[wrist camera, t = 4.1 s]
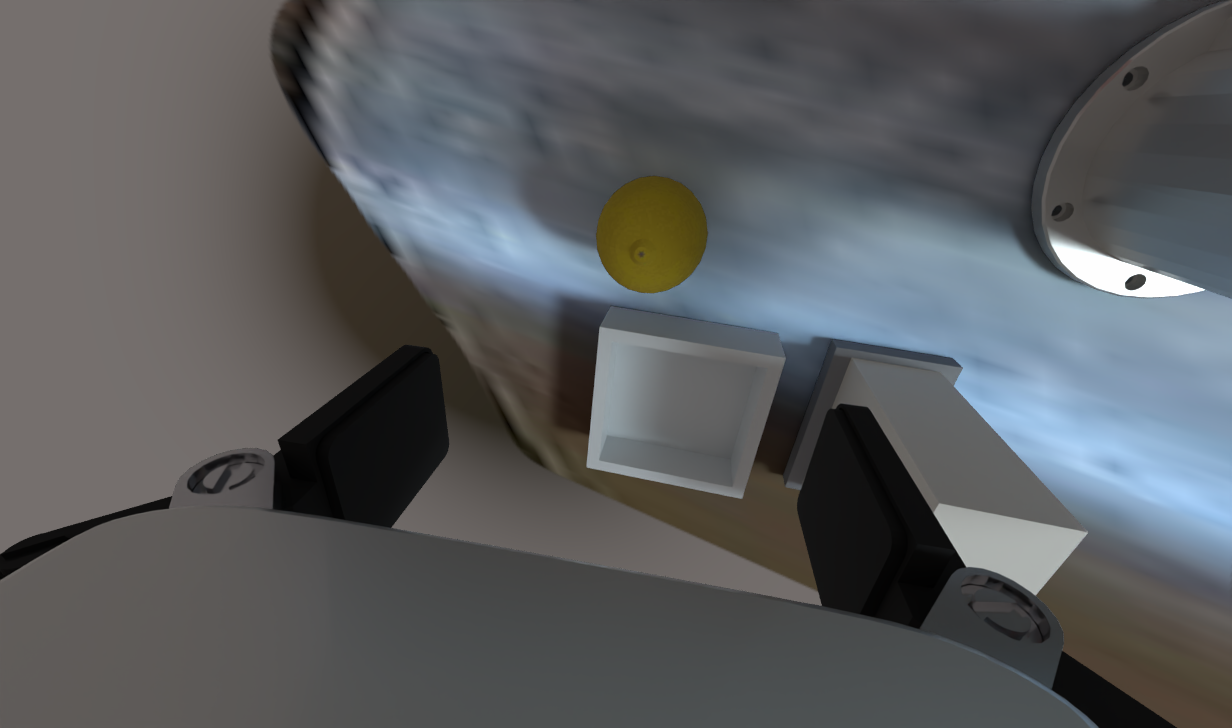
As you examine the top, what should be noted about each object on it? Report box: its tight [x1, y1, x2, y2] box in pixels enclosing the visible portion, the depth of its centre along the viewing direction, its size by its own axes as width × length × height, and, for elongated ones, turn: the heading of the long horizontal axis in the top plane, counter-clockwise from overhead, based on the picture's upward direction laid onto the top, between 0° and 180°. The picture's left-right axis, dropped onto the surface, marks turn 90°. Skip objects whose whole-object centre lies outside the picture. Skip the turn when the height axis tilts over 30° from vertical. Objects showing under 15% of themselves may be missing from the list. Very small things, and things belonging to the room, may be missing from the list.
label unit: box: [783, 339, 1088, 595], centre depth 25 cm, size 11×7×13 cm, turn 174°
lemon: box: [596, 176, 708, 293], centre depth 23 cm, size 6×6×8 cm
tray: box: [587, 306, 786, 499], centre depth 30 cm, size 11×11×4 cm
